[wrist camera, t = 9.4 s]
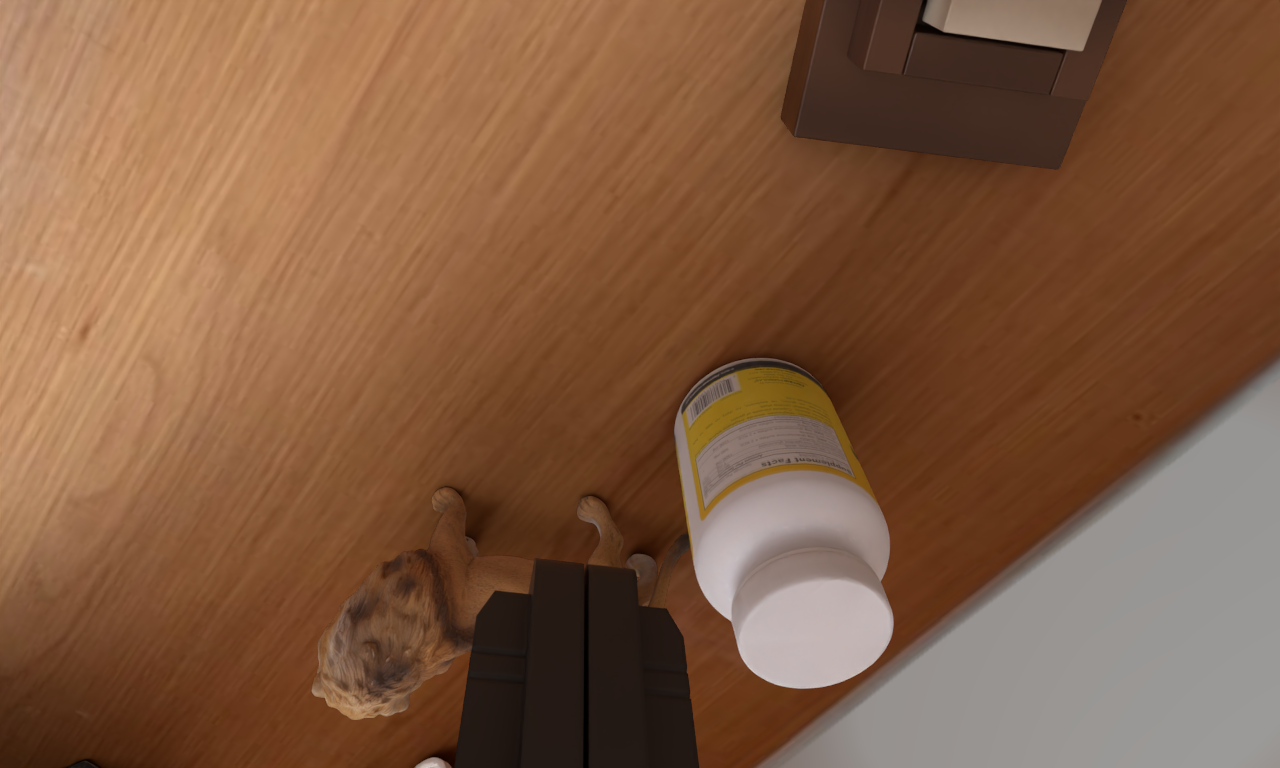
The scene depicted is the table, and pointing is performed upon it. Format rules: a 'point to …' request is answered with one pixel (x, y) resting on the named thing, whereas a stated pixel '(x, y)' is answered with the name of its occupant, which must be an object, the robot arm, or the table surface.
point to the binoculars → (433, 763)
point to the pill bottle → (783, 523)
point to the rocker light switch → (937, 84)
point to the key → (1017, 20)
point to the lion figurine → (442, 609)
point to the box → (84, 765)
